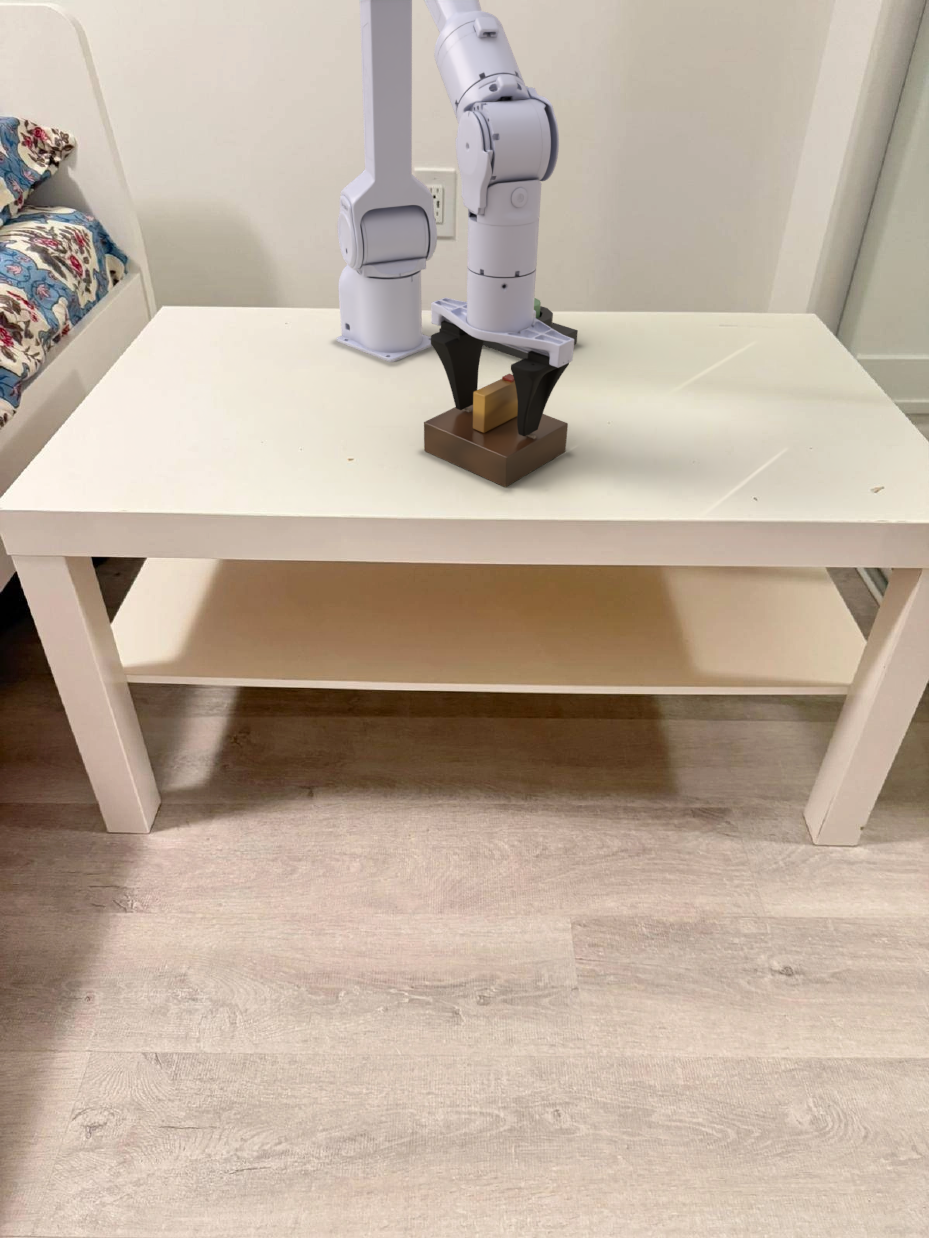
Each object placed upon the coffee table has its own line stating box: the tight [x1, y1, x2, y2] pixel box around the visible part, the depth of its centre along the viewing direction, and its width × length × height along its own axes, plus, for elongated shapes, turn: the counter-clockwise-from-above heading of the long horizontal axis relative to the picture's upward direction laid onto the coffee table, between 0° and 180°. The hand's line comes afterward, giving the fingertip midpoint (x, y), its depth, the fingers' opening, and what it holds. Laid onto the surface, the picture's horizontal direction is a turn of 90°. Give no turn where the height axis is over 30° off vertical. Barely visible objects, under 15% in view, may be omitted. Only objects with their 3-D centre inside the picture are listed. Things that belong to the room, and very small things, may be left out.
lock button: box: [534, 297, 542, 319], centre depth 102 cm, size 4×4×2 cm
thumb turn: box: [473, 373, 518, 433], centre depth 80 cm, size 5×1×4 cm, turn 138°
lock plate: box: [423, 405, 569, 488], centre depth 82 cm, size 10×9×3 cm
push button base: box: [483, 305, 579, 360], centre depth 103 cm, size 10×8×4 cm
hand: (496, 418), depth 81 cm, fingers open, 7 cm apart
